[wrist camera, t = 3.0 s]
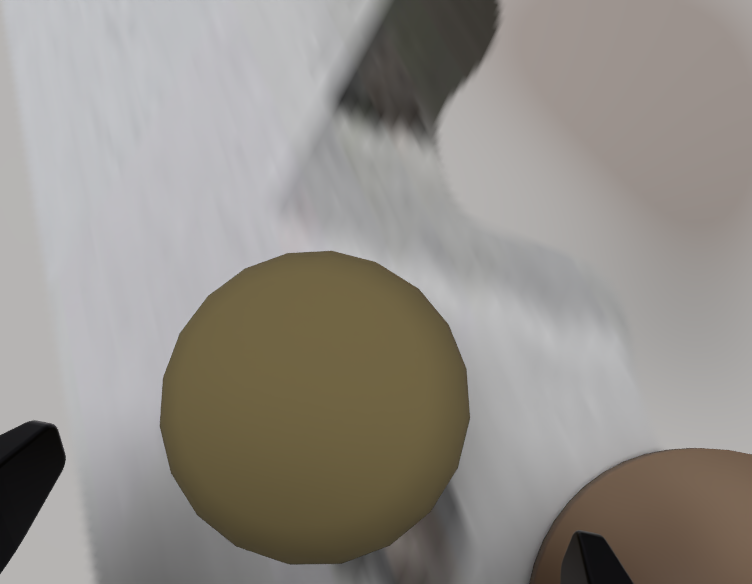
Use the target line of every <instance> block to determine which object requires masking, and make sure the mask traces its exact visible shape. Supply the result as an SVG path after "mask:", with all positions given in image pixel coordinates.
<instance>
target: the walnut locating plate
mask: <svg viewBox="0 0 752 584" xmlns="http://www.w3.org/2000/svg"><path fill="white" fill-rule="evenodd" d="M577 530H582V531H587V532H592V533H597V534H600V535H601V536H603V537H604V538H605V539H606V541H607V542H608V544H609V545H610V547H611V548H612V550H613V552H614V553H615V555H616V556H617V558H618V559H619V561H620V562H621V564H622V565H623V567H624V569H625V570H626V572H627V573H628V575H629V576H630V578H631V579H632V581H633V583H634V584H752V455H751V454H746V453H741V452H736V451H730V450H720V449H719V450H718V449H704V448H686V449H671V450H664V451H659V452H654V453H649V454H644V455H642V456H639V457H636V458H633V459H630V460H628V461H625V462H622V463H621V464H619V465H617V466H615V467H613V468H611V469H609V470H607V471H605V472H604V473H602V474H601V475H599V476H598V477H597V478H595V479H594V480H593V481H591V482H590V483H588V484H587V485H586V486H585V487H584V488H583V489H582V490H581V491H579V492H578V493H577V494H576V495H575V496H574V497H573V498H572V499H571V500H570V501H569V502H568V504H567V505H566V506H565V508H564V509H563V510H562V512H561V513H560V514H559V516H558V517H557V518H556V520H555V521H554V523H553V525H552V526H551V528H550V530H549V532H548V534H547V535H546V537H545V539H544V541H543V543H542V546H541V548H540V551H539V553H538V556H537V558H536V561H535V563H534V567H533V571H532V575H531V579H530V583H529V584H561V579H560V576H561V565H562V561H563V558H564V555H565V553H566V550H567V548H568V545H569V543H570V540H571V538H572V535H573V534H574V532H575V531H577Z"/></svg>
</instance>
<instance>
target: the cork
mask: <svg viewBox="0 0 752 584" xmlns="http://www.w3.org/2000/svg"><path fill="white" fill-rule="evenodd" d="M469 420H470V413H469V399H468V385H467V371H466V367H465V364H464V362H463V359H462V357H461V354H460V352H459V349H458V347H457V344H456V342H455V339H454V337H453V335H452V332H451V330H450V327H449V325H448V323H447V322H446V321H445V320H444V319H443V317H442V316H441V315H440V314H439V313H438V311H437V310H436V309H435V308H434V307H433V305H432V304H431V303H430V302H429V301H428V299H427V298H426V297H425V296H424V295H423V293H422V292H421V291H420V290H419V289H418V288H416V287H415V286H413V285H412V284H410V283H408V282H407V281H405V280H404V279H402V278H400V277H399V276H397V275H396V274H394V273H392V272H391V271H389V270H388V269H386V268H384V267H383V266H381V265H380V264H378V263H376V262H373V261H369V260H365V259H361V258H357V257H354V256H350V255H346V254H342V253H338V252H334V251H322V252H303V253H287V254H284V255H281V256H279V257H276V258H273V259H270V260H268V261H265V262H262V263H259V264H257V265H254V266H251V267H248V268H246V269H244V270H243V271H241V272H240V273H239V274H237V275H236V276H235V277H233V278H232V279H231V280H229V281H228V282H226V283H225V284H224V285H222V286H221V287H220V288H218V289H217V290H216V291H214V292H213V293H212V294H210V295H209V296H208V297H207V298H206V300H205V301H204V302H203V304H202V305H201V306H200V307H199V309H198V310H197V311H196V313H195V314H194V315H193V317H192V318H191V319H190V321H189V322H188V323H187V325H186V326H185V327H184V329H183V330H182V331H181V333H180V334H179V337H178V340H177V342H176V345H175V348H174V350H173V353H172V356H171V358H170V361H169V364H168V366H167V369H166V371H165V374H164V377H163V387H162V401H161V416H160V429H161V433H162V437H163V441H164V445H165V450H166V454H167V458H168V462H169V466H170V470H171V474H172V475H173V477H174V479H175V480H176V482H177V483H178V485H179V487H180V488H181V490H182V491H183V493H184V495H185V496H186V498H187V499H188V501H189V503H190V504H191V506H192V507H193V509H194V511H195V512H196V514H197V515H198V516H199V517H200V518H202V519H203V520H204V521H205V522H207V523H208V524H209V525H210V526H212V527H213V528H214V529H215V530H216V531H218V532H219V533H220V534H221V535H223V536H224V537H225V538H226V539H228V540H229V541H230V542H231V543H233V544H234V545H235V546H237V547H240V548H243V549H246V550H249V551H252V552H254V553H257V554H260V555H263V556H266V557H269V558H272V559H275V560H278V561H281V562H284V563H287V564H342V563H344V562H347V561H350V560H352V559H355V558H358V557H360V556H363V555H366V554H368V553H371V552H374V551H376V550H379V549H382V548H384V547H387V546H390V545H391V544H392V543H393V542H395V541H396V540H397V539H398V538H399V537H401V536H402V535H403V534H404V533H405V532H407V531H408V530H409V529H410V528H412V527H413V526H414V525H415V524H416V523H418V522H419V521H420V520H421V519H422V518H424V517H425V516H426V515H427V514H428V513H430V512H431V510H432V508H433V507H434V505H435V504H436V502H437V500H438V499H439V497H440V495H441V494H442V492H443V491H444V489H445V487H446V486H447V484H448V483H449V481H450V479H451V478H452V476H453V475H454V473H455V471H456V470H457V468H458V465H459V460H460V456H461V452H462V448H463V444H464V440H465V436H466V432H467V428H468V424H469Z"/></svg>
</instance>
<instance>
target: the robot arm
mask: <svg viewBox="0 0 752 584" xmlns="http://www.w3.org/2000/svg"><path fill="white" fill-rule="evenodd" d="M65 461H66V456H65V452H64V448H63V445H62V442H61V438H60V435H59V432H58V429H57V427H56V426H55V425H54V424H51V423H46V422H41V421H29V422H27V423H24V424H22V425H20V426H18V427H16V428H14V429H12V430H10V431H8V432H6V433H4V434H2V435H0V574H1V572H2V571H3V569H4V568H5V567H6V565H7V564H8V562H9V561H10V559H11V558H12V556H13V554H14V553H15V552H16V550H17V549H18V547H19V545H20V544H21V542H22V540H23V539H24V537H25V535H26V534H27V532H28V530H29V528H30V527H31V525H32V523H33V521H34V520H35V518H36V516H37V514H38V512H39V511H40V509H41V507H42V506H43V504H44V502H45V500H46V499H47V497H48V495H49V493H50V491H51V490H52V488H53V486H54V484H55V483H56V481H57V479H58V477H59V476H60V474H61V472H62V470H63V468H64V465H65ZM560 579H561V584H634V583H633V581H632V579H631V578H630V576H629V575H628V573H627V572H626V570H625V569H624V567H623V565H622V564H621V562H620V561H619V559H618V558H617V556H616V555H615V553H614V552H613V550H612V548H611V547H610V545H609V544H608V542H607V541H606V539H605V538H604V537H603V536H601V535H600V534H597V533H592V532H587V531H582V530H577V531H575V532H574V534H573V535H572V538H571V540H570V543H569V545H568V548H567V550H566V553H565V555H564V558H563V561H562V565H561V576H560Z"/></svg>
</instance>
